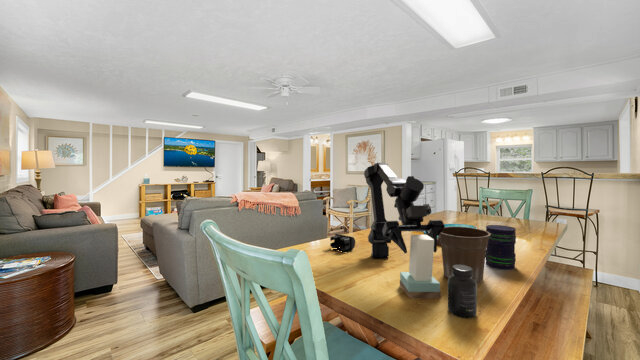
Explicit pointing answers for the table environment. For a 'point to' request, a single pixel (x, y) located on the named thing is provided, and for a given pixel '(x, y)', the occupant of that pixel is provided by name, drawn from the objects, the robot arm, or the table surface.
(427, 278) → the cream block
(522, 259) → the table surface
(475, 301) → the supplement bottle
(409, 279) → the tower top
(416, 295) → the tower base
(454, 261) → the plant pot
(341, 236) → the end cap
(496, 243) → the storage jar
